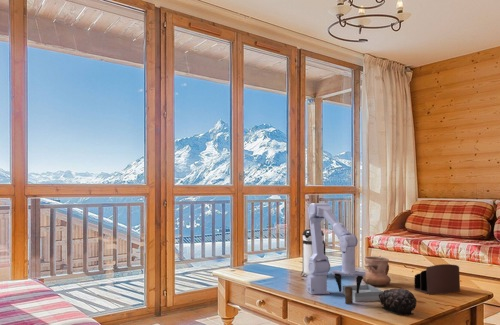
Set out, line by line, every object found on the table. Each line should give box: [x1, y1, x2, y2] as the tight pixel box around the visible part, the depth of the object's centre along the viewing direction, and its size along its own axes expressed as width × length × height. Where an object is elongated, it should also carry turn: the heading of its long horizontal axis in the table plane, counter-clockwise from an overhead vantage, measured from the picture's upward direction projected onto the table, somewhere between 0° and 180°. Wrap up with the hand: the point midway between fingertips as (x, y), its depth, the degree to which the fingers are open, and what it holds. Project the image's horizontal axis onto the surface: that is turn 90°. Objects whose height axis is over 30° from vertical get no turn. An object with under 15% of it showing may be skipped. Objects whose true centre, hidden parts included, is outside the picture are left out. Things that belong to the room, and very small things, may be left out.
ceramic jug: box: [362, 255, 392, 287], centre depth 226 cm, size 18×14×14 cm
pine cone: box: [379, 287, 417, 316], centre depth 177 cm, size 10×18×10 cm, turn 35°
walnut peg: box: [344, 287, 354, 305], centre depth 189 cm, size 3×3×7 cm
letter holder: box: [413, 263, 461, 295], centre depth 213 cm, size 10×20×14 cm, turn 108°
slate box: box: [342, 284, 384, 303], centre depth 200 cm, size 14×14×4 cm
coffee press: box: [300, 228, 326, 277], centre depth 248 cm, size 17×16×30 cm
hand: (348, 292), depth 189 cm, fingers open, 7 cm apart
